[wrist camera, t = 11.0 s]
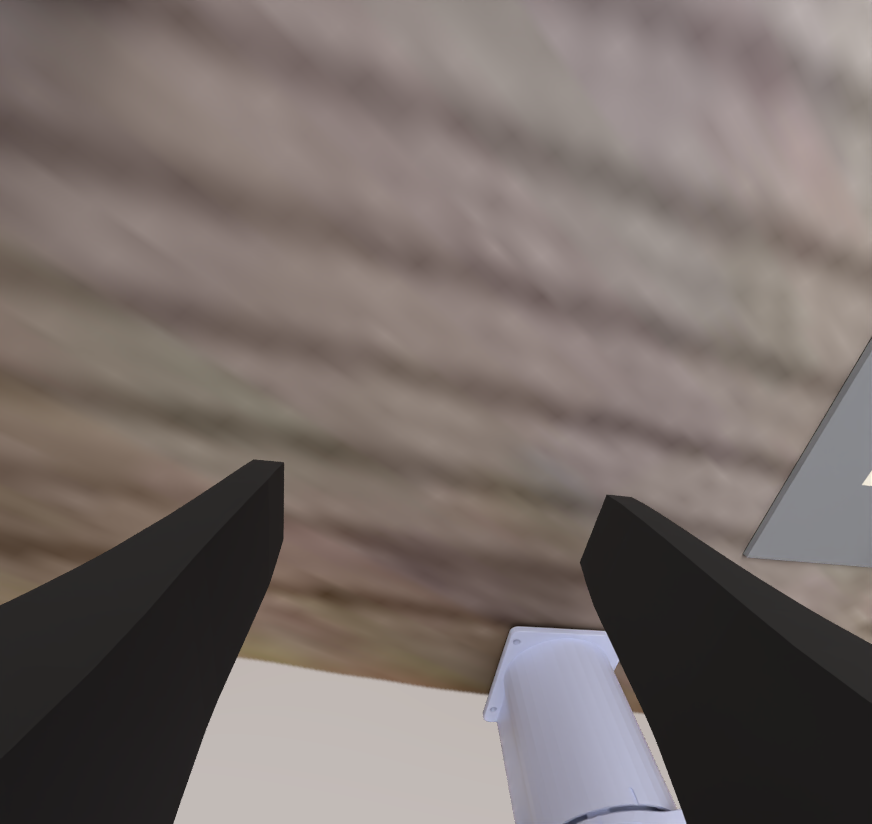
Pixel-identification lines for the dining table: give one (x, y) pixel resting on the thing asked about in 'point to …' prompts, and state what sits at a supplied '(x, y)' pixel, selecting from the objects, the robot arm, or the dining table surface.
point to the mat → (828, 487)
